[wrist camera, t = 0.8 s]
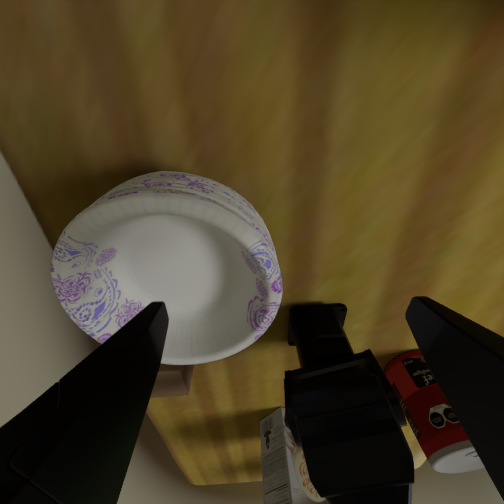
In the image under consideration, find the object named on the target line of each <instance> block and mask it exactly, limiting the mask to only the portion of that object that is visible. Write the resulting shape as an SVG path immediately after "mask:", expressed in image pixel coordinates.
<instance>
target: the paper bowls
mask: <svg viewBox="0 0 504 504" xmlns="http://www.w3.org/2000/svg"><path fill="white" fill-rule="evenodd" d="M51 278H52V283H53V286H54V290H55V293H56V295H57V298H58V299H59V301H60V303H61V305H62V306H63V308H64V310H65V311H66V312H67V314H68V315H69V316H70V318H71V319H72V320H73V321H74V322H75V323H76V324H77V325H78V326H79V327H80V328H81V329H82V330H83V331H85V332H86V333H87V334H88V335H90V336H91V337H92V338H94V339H95V340H97V341H98V342H100V343H104V342H105V341H106V340H107V339H108V338H109V337H111V336H112V335H113V334H114V333H115V332H117V331H118V330H119V329H120V328H121V327H122V326H124V325H125V324H126V323H127V322H128V321H130V320H131V319H132V318H133V317H134V316H135V315H137V314H138V313H139V312H140V311H141V310H143V309H144V308H145V307H146V306H147V305H148V304H150V303H151V302H153V301H163V302H164V303H165V305H166V309H167V313H168V317H169V325H168V330H167V335H166V340H165V345H164V350H163V355H162V360H161V363H162V364H172V365H191V364H200V363H206V362H211V361H216V360H220V359H223V358H226V357H228V356H231V355H233V354H235V353H237V352H239V351H241V350H243V349H245V348H247V347H248V346H249V345H251V344H252V343H254V342H255V341H256V340H258V339H259V337H261V336H262V335H263V334H264V332H265V331H266V330H267V329H268V327H269V326H270V325H271V323H272V322H273V320H274V318H275V316H276V315H277V311H278V309H279V306H280V303H281V300H282V299H281V298H282V290H283V289H282V278H281V273H280V269H279V265H278V260H277V256H276V252H275V248H274V245H273V242H272V239H271V236H270V234H269V231H268V229H267V227H266V225H265V223H264V221H263V220H262V218H261V217H260V216H259V214H258V212H257V211H256V210H255V209H254V208H253V206H252V205H251V204H250V203H249V202H248V201H247V200H246V199H245V198H243V197H242V196H241V195H239V194H238V193H237V192H235V191H234V190H232V189H231V188H229V187H227V186H225V185H223V184H221V183H218V182H216V181H214V180H212V179H209V178H206V177H202V176H198V175H195V174H189V173H184V172H173V171H159V172H153V173H148V174H145V175H141V176H138V177H135V178H132V179H130V180H128V181H126V182H124V183H122V184H120V185H118V186H117V187H115V188H113V189H111V190H110V191H109V192H107V193H106V194H105V195H103V196H102V197H100V198H99V199H97V200H96V201H95V202H94V203H93V204H92V205H90V206H89V207H88V208H86V209H84V210H83V211H82V212H80V213H79V214H78V215H77V216H76V217H75V218H74V219H73V220H72V221H70V223H69V224H68V225H67V227H66V228H65V229H64V230H63V232H62V234H61V235H60V237H59V239H58V241H57V243H56V246H55V248H54V252H53V256H52V261H51Z"/></svg>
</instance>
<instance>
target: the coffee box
mask: <svg viewBox="0 0 504 504" xmlns="http://www.w3.org/2000/svg"><path fill="white" fill-rule="evenodd" d="M284 417H285V408H283V407H279V408H278V409H277V410H275V411H274V412H272V413H271V414H269V415H268V416H267V417H265V418H264V419H262V420H261V421H260V433H261V456H262V476H263V498H264V504H329V502H328V501H327V500H326V498H321V497H320V496H319V494H318V493H317V491H316V490H315V488H314V486H313V485H312V483H311V481H310V479H309V474H308V470H307V466H306V462H305V458H304V454H303V450H302V447H298V446H297V445H296V443H295V441H294V438H293V435H292V433H291V431H290V430H289V429H288V428H287V427H286V426H285V422H284Z"/></svg>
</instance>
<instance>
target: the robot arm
mask: <svg viewBox="0 0 504 504" xmlns="http://www.w3.org/2000/svg"><path fill="white" fill-rule="evenodd" d="M342 308H343V309H342ZM346 313H347V307H346V305H344V304H337V305H317V306H297V307H292V308H291V309H290V315H289V330H288V344H289V345H290V346H296V349H297V353H298V358H299V363H300V367H301V368H299V369H295V370H292V371H290V370H288V371H285V379H284V390H285V417H284V422H285V426H286V427H287V428H288V429H289V430H290V431H291V433H292V435H293V438H294V441H295V443H296V445H297V446H298V447H302V450H303V454H304V458H305V462H306V466H307V470H308V474H309V479H310V481H311V483H312V485H313V486H314V488H315V490H316V491H317V493H318V494H319V496H320V497H321V498H326V500H327V501H328V502H329V504H412V484H413V483H414V462H413V456H412V452H411V450H410V448H409V445H408V443H407V441H406V438H405V436H404V434H403V431H402V429H401V427H402V426H407V422H406V418H405V415H404V413H403V410H402V407H401V405H400V403H399V400H398V398H397V396H396V394H395V392H394V390H393V388H392V386H391V384H390V382H389V381H388V379H387V377H386V376H385V374H384V372H383V370H382V369H381V367H380V365H379V364H378V362H377V360H376V359H375V357H374V355H373V354H372V352H371V350H370V349H368V350H365V351H364V352H361V353H357V354H354V352H353V350H352V347H351V345H350V343H349V341H348V338H347V336H346V334H345V331H344V329H343V325H344V321H345V317H346ZM405 315H406V320H407V322H408V325H409V327H410V329H411V331H412V334H413V336H414V338H415V340H416V343H417V345H418V347H419V349H420V352H421V354H422V356H423V358H424V360H425V362H426V364H427V366H428V367H429V369H430V371H431V373H432V374H433V376H434V378H435V380H436V382H437V383H438V385H439V387H440V389H441V390H442V392H443V394H444V396H445V398H446V399H447V401H448V403H449V405H450V406H451V408H452V410H453V412H454V414H455V415H456V417H457V419H458V421H459V422H460V424H461V426H462V428H463V429H464V431H465V433H466V435H467V437H468V438H469V440H470V442H471V444H472V445H473V447H474V449H475V451H476V453H477V454H478V456H479V458H480V460H481V461H482V463H483V465H484V467H485V468H486V470H487V472H488V474H489V476H490V477H491V479H492V481H493V483H494V484H495V486H496V488H497V490H498V492H499V493H500V495H501V497H502V499H503V501H504V337H502V336H500V335H498V334H496V333H494V332H493V331H491V330H489V329H487V328H485V327H483V326H481V325H479V324H477V323H476V322H474V321H472V320H470V319H468V318H466V317H464V316H462V315H461V314H459V313H457V312H455V311H453V310H451V309H449V308H447V307H445V306H444V305H442V304H440V303H438V302H436V301H434V300H432V299H430V298H429V297H426V296H416V297H413V298H412V300H411V302H410V304H409V306H408V309H407V311H406V314H405ZM168 325H169V317H168V313H167V309H166V305H165V303H164V302H163V301H153V302H151V303H150V304H148V305H147V306H146V307H145V308H144V309H143V310H141V311H140V312H139V313H138V314H137V315H135V316H134V317H133V318H132V319H131V320H130V321H128V322H127V323H126V324H125V325H124V326H122V327H121V328H120V329H119V330H118V331H117V332H115V333H114V334H113V335H112V336H111V337H109V338H108V339H107V340H106V341H105V342H104V343H102V344H101V345H100V346H99V347H98V348H97V349H95V350H94V351H93V352H92V353H91V354H90V355H88V356H87V357H86V358H85V359H83V360H82V361H81V362H80V363H79V364H78V365H76V366H75V367H74V368H73V369H72V370H71V371H70V372H68V373H67V374H66V375H65V376H63V377H62V378H61V379H60V380H59V382H56V383H55V384H54V385H53V386H52V387H50V388H49V389H48V390H47V391H46V392H44V393H43V394H42V395H41V396H40V397H38V398H37V399H36V400H35V401H33V402H32V403H31V404H30V405H29V406H27V407H26V408H25V409H24V410H22V411H21V412H20V413H19V414H17V415H16V416H15V417H13V418H12V419H11V420H10V421H9V422H7V423H6V424H4V425H3V426H2V427H0V504H117V501H118V498H119V495H120V491H121V488H122V485H123V482H124V479H125V476H126V472H127V469H128V466H129V463H130V460H131V457H132V453H133V450H134V447H135V444H136V441H137V438H138V435H139V431H140V428H141V425H142V422H143V419H144V415H145V413H146V409H147V406H148V403H149V400H150V397H151V394H152V390H153V387H154V384H155V381H156V378H157V375H158V371H159V368H160V364H161V360H162V355H163V350H164V345H165V340H166V335H167V330H168Z"/></svg>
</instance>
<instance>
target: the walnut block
mask: <svg viewBox="0 0 504 504" xmlns="http://www.w3.org/2000/svg"><path fill="white" fill-rule="evenodd" d="M193 367H194V364H191V365H172V364H162V363H161V364H160V368H159V371H158V375H157V378H156V381H155V384H154V387H153V390H152V394H151V397H165V396H182V395H189V390H190V384H191V378H192V373H193Z"/></svg>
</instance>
